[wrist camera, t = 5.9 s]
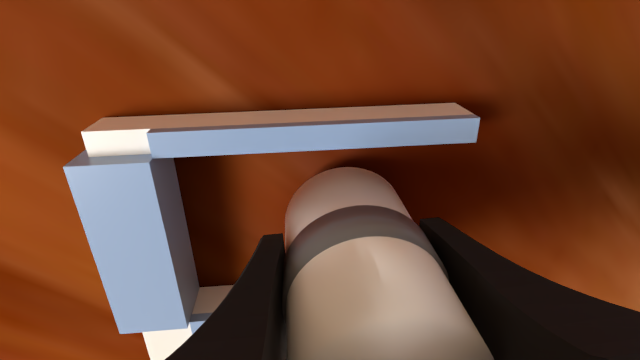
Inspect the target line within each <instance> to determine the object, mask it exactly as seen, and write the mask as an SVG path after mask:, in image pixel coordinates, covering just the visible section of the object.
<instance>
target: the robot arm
mask: <svg viewBox="0 0 640 360" xmlns="http://www.w3.org/2000/svg"><path fill="white" fill-rule="evenodd" d="M420 228H421V229H422V231H423V232H424V234H425V235H426V237H427V238H428V240H429V242H430V243H431V245H432V247H433V248H434V250H435V252H436V253H437V255H438V257H439V258H440V260H441V262H442V263H443V265H444V267H445V269H446V271H447V274H448V277H449V283H450V284H451V286H452V288H453V289H454V291H455V293H456V295H457V296H458V298H459V300H460V301H461V303H462V305H463V306H464V308H465V310H466V311H467V313H468V315H469V317H470V318H471V320H472V322H473V323H474V325H475V327H476V328H477V330H478V332H479V334H480V335H481V337H482V339H483V340H484V342H485V344H486V345H487V347H488V349H489V351H490V352H491V354H492V356H493V358H494V360H640V312H638V311H635V310H631V309H628V308H625V307H622V306H618V305H615V304H612V303H609V302H606V301H603V300H600V299H597V298H594V297H591V296H589V295H586V294H583V293H581V292H578V291H575V290H573V289H570V288H567V287H565V286H562V285H560V284H558V283H555V282H553V281H551V280H548V279H546V278H544V277H542V276H540V275H538V274H535V273H533V272H531V271H529V270H527V269H525V268H523V267H521V266H519V265H517V264H515V263H513V262H512V261H510V260H508V259H506V258H504V257H502V256H501V255H499V254H497V253H495V252H494V251H492V250H490V249H489V248H487V247H485V246H484V245H482V244H480V243H479V242H477V241H475V240H474V239H472V238H471V237H469V236H468V235H466V234H464V233H463V232H461V231H460V230H458V229H457V228H455V227H454V226H452V225H450V224H449V223H447V222H446V221H444V220H442V219H441V218H439V217H436V218H426V219H420ZM284 258H285V248H284V240H283V233H282V234H272V235H264V236H263V237H262V238H261V239H260V241H259V244H258V246H257V248H256V250H255V252H254V253H253V255H252V257H251V259H250V261H249V262H248V264H247V266H246V267H245V269H244V271H243V272H242V274H241V275H240V277H239V279H238V280H237V281H236V283H235V284H234V286H233V287H232V288H231V290H230V291H229V293H228V294H227V296H226V297H225V298H224V299H223V301H222V302H221V303H220V305H219V306H218V307H217V308H216V309H215V311H214V312H213V313H212V314H211V315H210V316H209V318H208V319H207V320H206V321H205V322H204V323H203V324H202V325H201V326H200V327H199V328H198V329H197V330H196V331H195V332H194V333H193V334H192V335H191V336H190V337H189V338H188V339H187V340H186V341H185V342H184V343H183V344H182V345H181V346H180V347H179V348H178V349H176V350H175V351H174V352H173V353H172V354H171V355H170V356H168V357H167V358H166V359H165V360H287V345H286V324H285V321H284V317H283V310H282V288H283V266H284Z"/></svg>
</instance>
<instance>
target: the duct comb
mask: <svg viewBox="0 0 640 360" xmlns="http://www.w3.org/2000/svg"><path fill="white" fill-rule="evenodd" d="M479 122H480V117H478V116H476V115H475V114H473V113H471V112H470V111H468V110H466V109H465V108H463V107H461V106H460V105H458V104H456V103H437V104H413V105H390V106H366V107H342V108H319V109H295V110H272V111H248V112H224V113H201V114H177V115H154V116H130V117H106V118H102V119H100V120H98V121H97V122H95V123H94V124H92V125H91V126H89V127H88V128H86V129H85V130H83V131H82V132H81V133H82V137H83V140H84V143H85V147H86V150H85V151H83V152H82V153H81V154H79V155H78V156H77V157H75V158H74V159H73V160H71V161H70V162H69V163H67V164H66V165H65V166H64V167H63V169H64V171H65V174H66V177H67V180H68V183H69V186H70V189H71V192H72V195H73V198H74V201H75V204H76V207H77V210H78V212H79V215H80V218H81V221H82V224H83V227H84V230H85V233H86V236H87V239H88V242H89V245H90V248H91V250H92V253H93V256H94V259H95V262H96V265H97V268H98V271H99V274H100V277H101V280H102V283H103V286H104V289H105V291H106V294H107V297H108V300H109V303H110V306H111V309H112V312H113V315H114V318H115V321H116V324H117V327H118V329H119V332H120V334H125V333H138V332H142V333H143V336H144V339H145V343H146V346H147V349H148V353H149V356H150V359H151V360H165V359H166V358H167V357H168V356H170V355H171V354H172V353H173V352H174V351H175V350H176V349H178V348H179V347H180V346H181V345H182V344H183V343H184V342H185V341H186V340H187V339H188V338H189V337H190V336H191V335H192V334H193V333H194V332H195V331H196V330H197V329H198V328H199V327H200V326H201V325H202V324H203V323H204V322H205V321H206V320H207V319H208V318H209V316H210V315H211V314H212V313H213V312H214V311H215V309H216V308H217V307H218V306H219V305H220V303H221V302H222V301H223V299H224V298H225V297H226V296H227V294H228V293H229V291H230V290H231V288H232V287H233V286H234V285H225V286H212V287H199V282H198V277H197V272H196V267H195V262H194V257H193V252H192V247H191V242H190V237H189V233H188V228H187V223H186V218H185V213H184V208H183V203H182V198H181V193H180V188H179V183H178V178H177V173H176V168H175V163H174V158H175V157H195V156H215V155H235V154H255V153H275V152H295V151H315V150H335V149H355V148H375V147H395V146H414V145H434V144H454V143H474V142H476V140H477V134H478V128H479Z"/></svg>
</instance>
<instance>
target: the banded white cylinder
mask: <svg viewBox="0 0 640 360" xmlns="http://www.w3.org/2000/svg"><path fill="white" fill-rule="evenodd" d="M282 310H283V317H284V321H285V324H286V345H287V360H494V358H493V356H492V354H491V352H490V351H489V349H488V347H487V345H486V344H485V342H484V340H483V339H482V337H481V335H480V334H479V332H478V330H477V328H476V327H475V325H474V323H473V322H472V320H471V318H470V317H469V315H468V313H467V311H466V310H465V308H464V306H463V305H462V303H461V301H460V300H459V298H458V296H457V295H456V293H455V291H454V289H453V288H452V286H451V284H450V283H449V277H448V274H447V271H446V269H445V267H444V265H443V263H442V262H441V260H440V258H439V257H438V255H437V253H436V252H435V250H434V248H433V247H432V245H431V243H430V242H429V240H428V238H427V237H426V235H425V234H424V232H423V231H422V229H421V228H420V227H419V226H418V225H417V224H416V223H415V222H414V221H413V220H412V218H411V217H410V215H409V213H408V211H407V210H406V208H405V206H404V205H403V203H402V201H401V200H400V198H399V196H398V195H397V193H396V191H395V190H394V188H393V187H392V186H391V184H390V183H389V182H387V181H386V180H385V179H384V178H383V177H381V176H380V175H378V174H376V173H374V172H372V171H369V170H366V169H362V168H356V167H340V168H334V169H330V170H327V171H324V172H322V173H319V174H317V175H315V176H314V177H312V178H310V179H309V180H307V181H306V182H305V183H304V184H303V185H302V186H301V187H299V189H298V190H297V191H296V192H295V194H294V195H293V197H292V198H291V200H290V202H289V205H288V207H287V211H286V216H285V258H284V266H283V288H282Z"/></svg>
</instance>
